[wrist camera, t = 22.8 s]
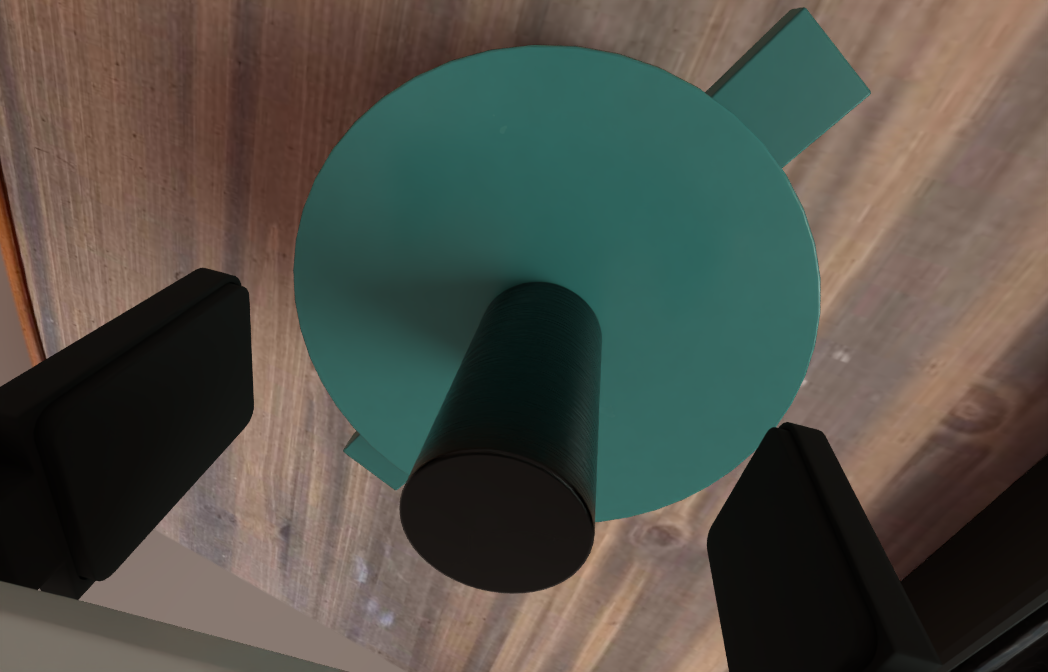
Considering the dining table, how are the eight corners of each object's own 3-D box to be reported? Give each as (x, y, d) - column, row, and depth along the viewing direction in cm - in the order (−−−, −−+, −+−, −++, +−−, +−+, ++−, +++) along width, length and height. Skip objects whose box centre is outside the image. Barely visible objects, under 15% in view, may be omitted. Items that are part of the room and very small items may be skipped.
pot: (334, 261, 26) (201, 369, 17) (626, -107, 18) (638, -228, 10) (531, 426, 29) (497, 585, 20) (856, 173, 21) (1016, 265, 12)
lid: (231, 309, 17) (-15, 486, 10) (534, -117, 11) (415, -347, 4) (550, 555, 20) (519, 812, 13) (919, 328, 14) (1189, 588, 8)
